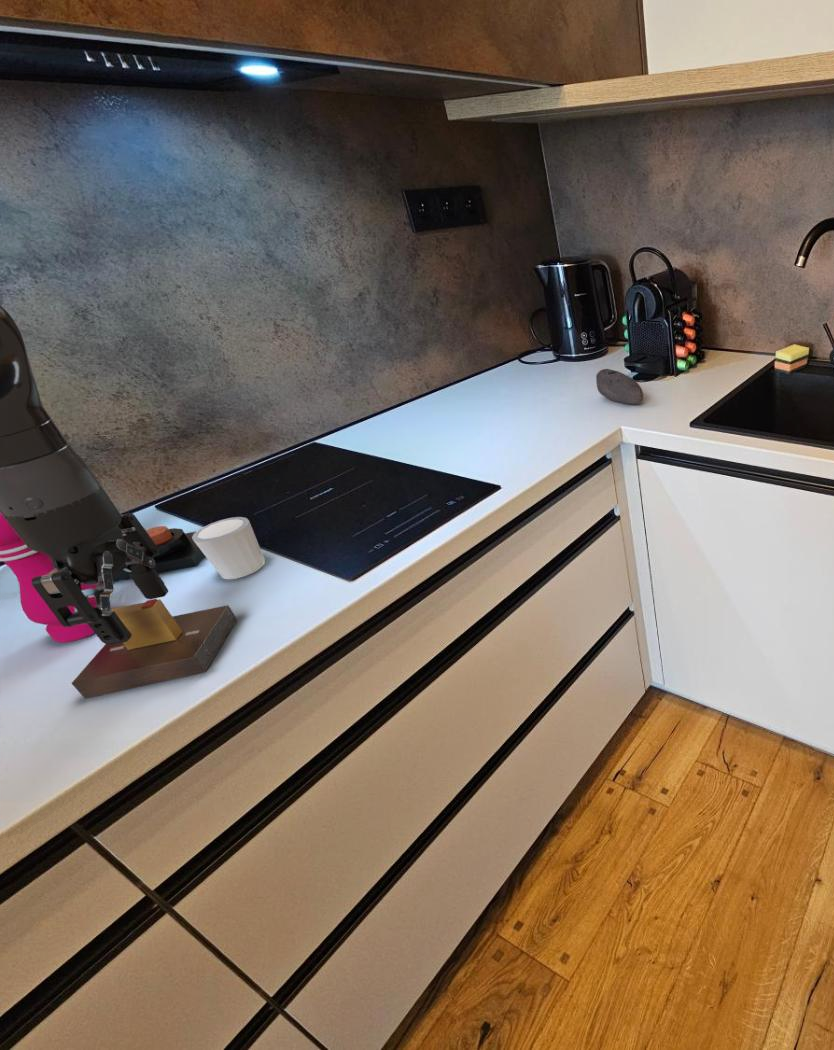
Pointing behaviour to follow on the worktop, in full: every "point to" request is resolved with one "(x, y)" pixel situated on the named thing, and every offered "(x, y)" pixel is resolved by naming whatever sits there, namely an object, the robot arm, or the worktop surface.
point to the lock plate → (158, 655)
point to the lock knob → (148, 623)
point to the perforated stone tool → (619, 387)
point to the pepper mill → (27, 565)
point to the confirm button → (159, 534)
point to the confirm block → (172, 554)
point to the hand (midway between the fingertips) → (140, 617)
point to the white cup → (230, 547)
